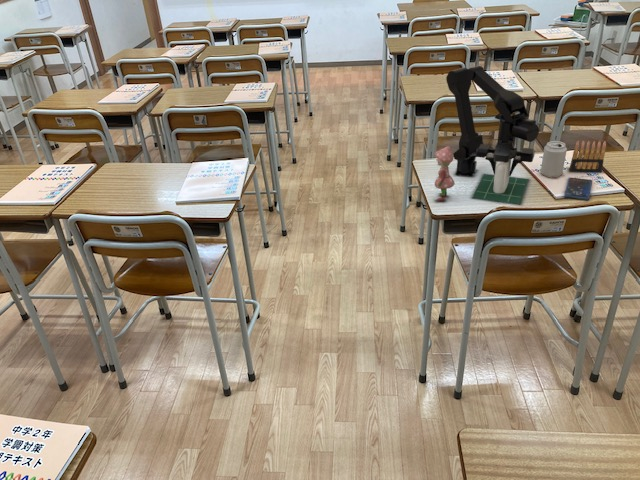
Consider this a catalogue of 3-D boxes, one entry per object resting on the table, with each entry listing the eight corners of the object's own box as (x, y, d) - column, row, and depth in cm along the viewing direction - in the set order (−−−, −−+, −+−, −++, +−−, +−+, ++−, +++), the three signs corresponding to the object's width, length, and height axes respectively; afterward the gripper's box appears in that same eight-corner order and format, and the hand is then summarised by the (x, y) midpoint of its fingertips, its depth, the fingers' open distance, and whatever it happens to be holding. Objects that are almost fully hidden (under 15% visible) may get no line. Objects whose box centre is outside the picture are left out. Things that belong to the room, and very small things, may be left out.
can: (564, 178, 177) (569, 147, 171) (542, 178, 179) (547, 147, 173) (559, 169, 183) (565, 139, 177) (538, 169, 185) (543, 140, 179)
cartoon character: (450, 206, 168) (453, 152, 157) (429, 203, 171) (431, 150, 160) (456, 193, 176) (459, 141, 165) (437, 191, 178) (439, 139, 168)
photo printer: (497, 180, 180) (500, 149, 173) (509, 182, 178) (513, 151, 171) (491, 193, 173) (494, 161, 166) (504, 194, 171) (508, 162, 164)
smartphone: (592, 179, 172) (589, 198, 162) (591, 181, 173) (588, 200, 162) (568, 177, 176) (564, 195, 165) (568, 179, 176) (563, 197, 166)
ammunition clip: (600, 170, 180) (607, 139, 173) (601, 172, 178) (608, 141, 172) (568, 169, 183) (574, 139, 176) (569, 171, 181) (575, 141, 175)
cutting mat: (472, 198, 172) (472, 197, 171) (483, 174, 186) (483, 173, 186) (519, 204, 165) (520, 203, 164) (528, 179, 179) (528, 178, 179)
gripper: (473, 139, 162) (470, 181, 171) (533, 144, 154) (526, 188, 163) (480, 128, 170) (477, 168, 179) (538, 132, 162) (531, 174, 171)
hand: (502, 175), depth 173 cm, fingers open, 5 cm apart
